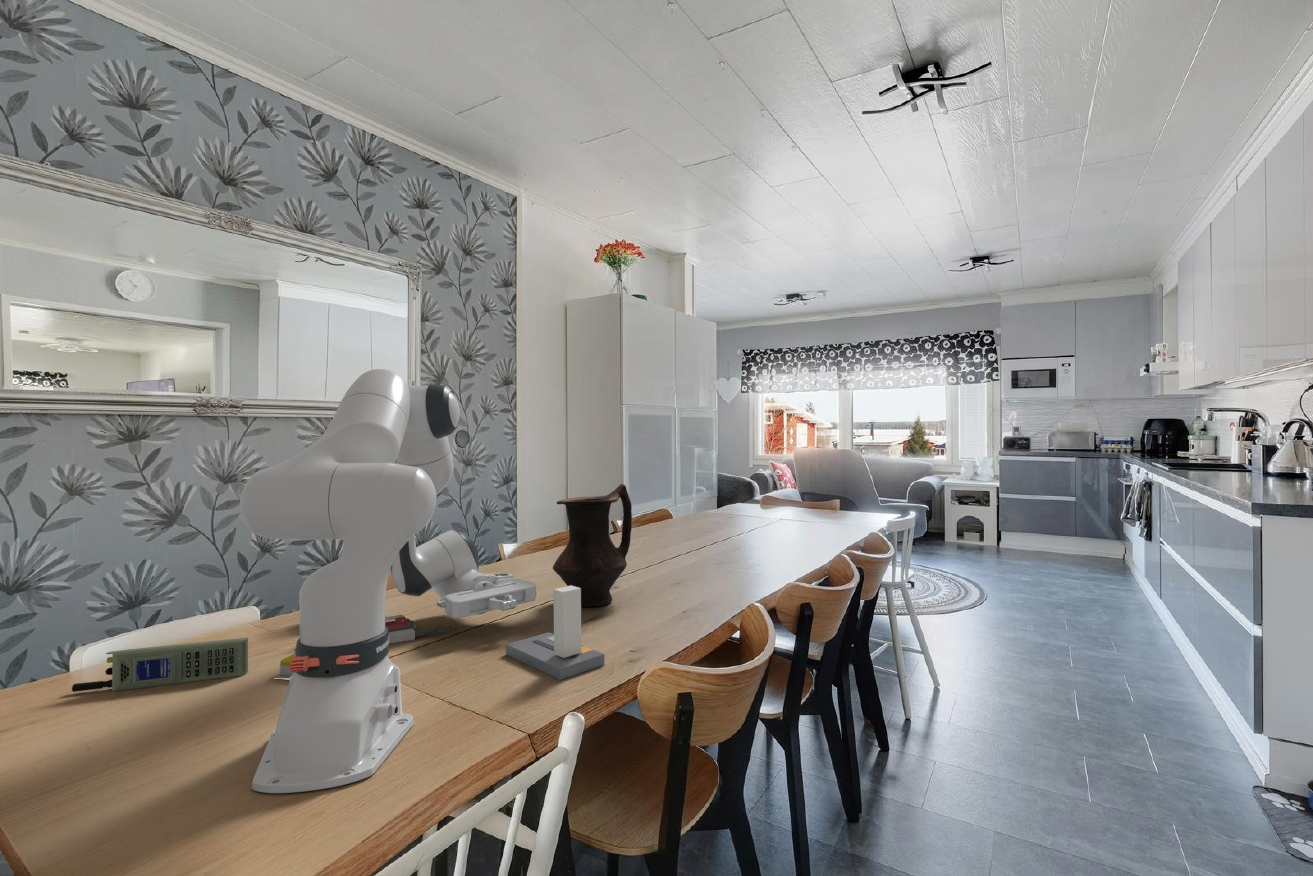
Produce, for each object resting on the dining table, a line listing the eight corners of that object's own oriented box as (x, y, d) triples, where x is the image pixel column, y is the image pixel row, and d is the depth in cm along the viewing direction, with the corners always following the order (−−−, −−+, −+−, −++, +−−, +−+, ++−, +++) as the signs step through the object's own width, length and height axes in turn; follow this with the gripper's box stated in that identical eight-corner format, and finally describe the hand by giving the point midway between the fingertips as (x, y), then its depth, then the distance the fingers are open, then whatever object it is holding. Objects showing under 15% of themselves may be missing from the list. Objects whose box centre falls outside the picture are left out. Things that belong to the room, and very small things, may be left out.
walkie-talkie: (351, 653, 121) (453, 634, 132) (351, 631, 121) (453, 614, 132) (345, 641, 128) (442, 624, 140) (345, 620, 128) (442, 605, 140)
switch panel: (506, 654, 119) (506, 643, 119) (548, 641, 126) (548, 631, 126) (560, 680, 106) (560, 668, 106) (604, 664, 113) (604, 653, 113)
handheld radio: (244, 678, 109) (66, 699, 101) (249, 672, 112) (77, 692, 104) (244, 640, 109) (67, 658, 101) (249, 635, 112) (78, 652, 104)
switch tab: (554, 654, 113) (553, 589, 113) (571, 648, 116) (571, 585, 116) (563, 658, 111) (563, 592, 111) (581, 652, 114) (580, 588, 113)
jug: (568, 617, 143) (567, 490, 143) (543, 599, 159) (542, 484, 159) (648, 605, 153) (647, 486, 153) (616, 589, 169) (615, 481, 169)
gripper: (433, 588, 130) (463, 600, 120) (516, 572, 145) (550, 582, 135) (433, 617, 130) (464, 632, 120) (516, 598, 145) (550, 610, 135)
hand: (510, 605), depth 128 cm, fingers closed
